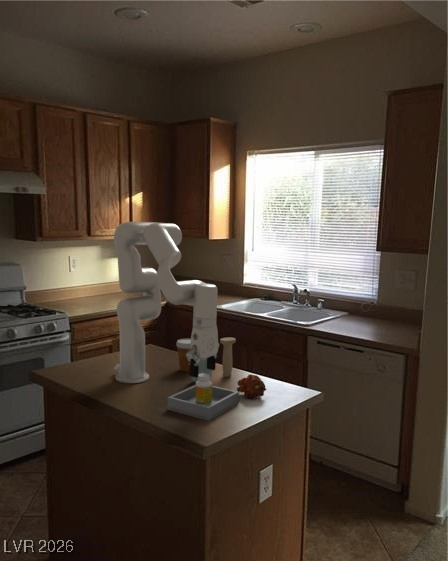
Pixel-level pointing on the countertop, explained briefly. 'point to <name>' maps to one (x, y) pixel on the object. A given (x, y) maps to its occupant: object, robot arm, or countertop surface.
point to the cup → (202, 368)
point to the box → (188, 405)
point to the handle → (227, 355)
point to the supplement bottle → (204, 389)
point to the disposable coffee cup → (183, 353)
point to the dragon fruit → (251, 386)
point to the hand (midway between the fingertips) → (202, 372)
